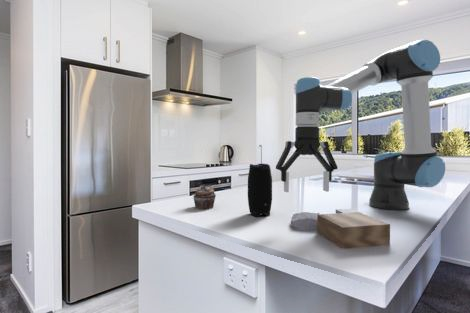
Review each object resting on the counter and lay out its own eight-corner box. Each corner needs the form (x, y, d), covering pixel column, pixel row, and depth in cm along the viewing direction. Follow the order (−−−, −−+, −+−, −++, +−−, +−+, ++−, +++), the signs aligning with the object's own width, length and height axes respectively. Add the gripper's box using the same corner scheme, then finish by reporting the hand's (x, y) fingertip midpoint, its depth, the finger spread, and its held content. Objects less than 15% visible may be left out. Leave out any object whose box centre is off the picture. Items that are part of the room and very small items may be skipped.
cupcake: (196, 204, 131) (196, 182, 131) (217, 205, 130) (217, 183, 129) (190, 209, 122) (190, 185, 121) (213, 210, 120) (212, 186, 120)
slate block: (351, 223, 100) (352, 208, 100) (361, 228, 94) (361, 212, 94) (335, 223, 99) (335, 209, 99) (344, 228, 93) (344, 213, 93)
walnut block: (358, 230, 92) (358, 212, 92) (389, 246, 78) (390, 224, 78) (317, 233, 89) (317, 214, 89) (342, 250, 76) (342, 227, 75)
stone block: (293, 235, 93) (325, 230, 91) (290, 220, 93) (322, 215, 91) (292, 226, 104) (320, 222, 103) (289, 213, 104) (318, 208, 103)
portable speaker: (273, 217, 108) (273, 164, 107) (248, 217, 108) (248, 165, 107) (270, 211, 117) (270, 163, 116) (247, 211, 117) (247, 163, 116)
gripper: (272, 125, 89) (272, 193, 90) (349, 126, 92) (347, 192, 93) (267, 126, 97) (266, 190, 98) (338, 127, 100) (336, 188, 101)
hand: (306, 191), depth 95 cm, fingers open, 13 cm apart
